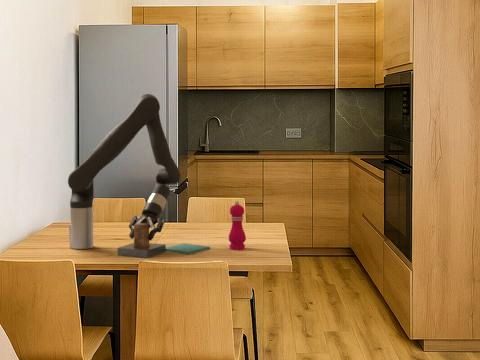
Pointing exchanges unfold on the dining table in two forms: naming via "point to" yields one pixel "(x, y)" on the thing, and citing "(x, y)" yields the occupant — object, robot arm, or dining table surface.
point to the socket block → (142, 250)
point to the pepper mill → (237, 228)
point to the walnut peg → (141, 235)
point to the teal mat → (186, 248)
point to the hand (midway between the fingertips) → (140, 238)
